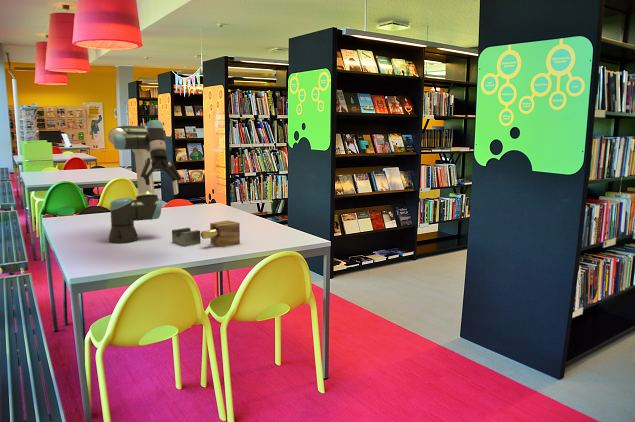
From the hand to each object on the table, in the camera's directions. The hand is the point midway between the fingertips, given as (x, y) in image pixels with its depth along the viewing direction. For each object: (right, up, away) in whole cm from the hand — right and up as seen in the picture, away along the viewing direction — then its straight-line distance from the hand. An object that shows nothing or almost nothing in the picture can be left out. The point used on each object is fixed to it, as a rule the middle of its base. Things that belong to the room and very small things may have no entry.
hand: (163, 192), depth 234 cm
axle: (+19, -22, +32) cm, 43 cm away
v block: (+1, -26, +37) cm, 45 cm away
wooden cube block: (+22, -26, +36) cm, 50 cm away
